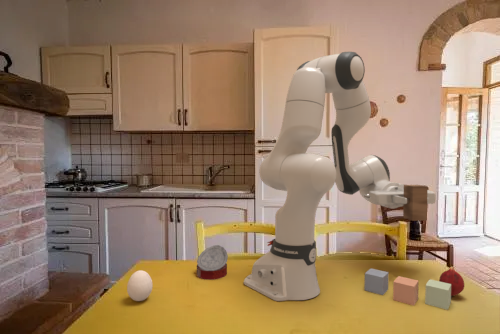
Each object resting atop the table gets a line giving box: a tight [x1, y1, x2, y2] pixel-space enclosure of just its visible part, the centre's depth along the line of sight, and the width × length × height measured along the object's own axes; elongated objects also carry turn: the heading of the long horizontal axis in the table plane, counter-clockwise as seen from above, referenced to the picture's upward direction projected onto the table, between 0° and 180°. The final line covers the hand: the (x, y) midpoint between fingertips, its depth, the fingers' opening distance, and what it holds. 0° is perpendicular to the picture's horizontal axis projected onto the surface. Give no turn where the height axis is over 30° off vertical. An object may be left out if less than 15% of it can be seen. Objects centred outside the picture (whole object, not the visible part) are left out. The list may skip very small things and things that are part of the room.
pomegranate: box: [438, 266, 465, 297], centre depth 85 cm, size 6×6×8 cm
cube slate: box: [364, 268, 389, 296], centre depth 89 cm, size 5×5×5 cm
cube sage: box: [424, 278, 452, 311], centre depth 81 cm, size 5×5×5 cm
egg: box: [126, 269, 153, 302], centre depth 83 cm, size 6×6×8 cm
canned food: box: [196, 244, 229, 281], centre depth 102 cm, size 11×10×10 cm
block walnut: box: [402, 184, 429, 222], centre depth 93 cm, size 4×4×10 cm
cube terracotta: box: [392, 275, 420, 306], centre depth 84 cm, size 5×5×5 cm
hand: (417, 200), depth 92 cm, fingers closed on block walnut, 4 cm apart
